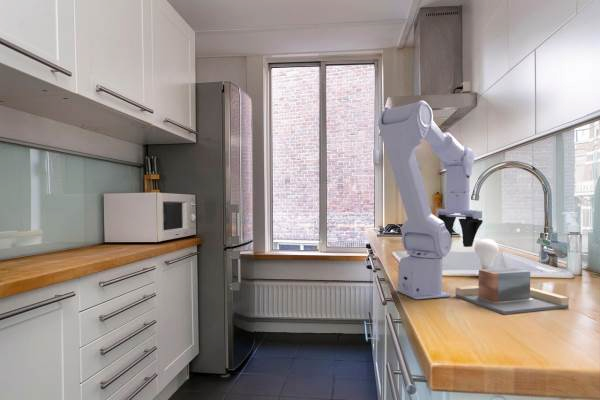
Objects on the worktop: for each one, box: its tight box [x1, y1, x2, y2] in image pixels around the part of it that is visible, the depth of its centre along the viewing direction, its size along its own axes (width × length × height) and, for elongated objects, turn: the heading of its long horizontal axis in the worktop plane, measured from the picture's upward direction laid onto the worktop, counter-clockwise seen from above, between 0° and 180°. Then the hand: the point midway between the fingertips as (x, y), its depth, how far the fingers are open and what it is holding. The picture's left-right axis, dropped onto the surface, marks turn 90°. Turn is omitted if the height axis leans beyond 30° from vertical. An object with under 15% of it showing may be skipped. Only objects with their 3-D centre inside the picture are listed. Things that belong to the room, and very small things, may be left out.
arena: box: [455, 284, 570, 315], centre depth 75 cm, size 17×13×2 cm
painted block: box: [478, 267, 531, 302], centre depth 75 cm, size 4×10×6 cm, turn 107°
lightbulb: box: [474, 238, 500, 270], centre depth 101 cm, size 6×6×11 cm
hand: (456, 244), depth 91 cm, fingers open, 7 cm apart
